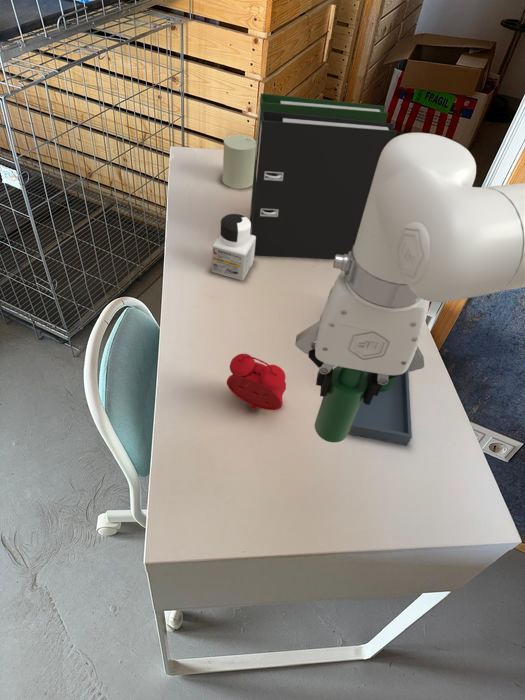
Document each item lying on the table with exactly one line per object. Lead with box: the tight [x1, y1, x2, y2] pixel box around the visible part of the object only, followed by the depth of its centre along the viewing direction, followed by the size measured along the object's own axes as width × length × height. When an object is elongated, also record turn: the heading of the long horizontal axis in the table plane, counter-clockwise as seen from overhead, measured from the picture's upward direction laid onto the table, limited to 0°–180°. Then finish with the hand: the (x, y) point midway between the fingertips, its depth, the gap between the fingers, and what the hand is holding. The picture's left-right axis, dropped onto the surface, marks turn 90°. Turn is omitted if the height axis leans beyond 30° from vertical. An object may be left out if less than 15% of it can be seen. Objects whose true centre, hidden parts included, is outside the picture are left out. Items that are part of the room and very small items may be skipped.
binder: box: [249, 93, 398, 260], centre depth 111 cm, size 27×15×32 cm, turn 91°
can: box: [221, 134, 257, 190], centre depth 136 cm, size 9×9×12 cm
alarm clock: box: [226, 353, 287, 411], centre depth 81 cm, size 10×6×15 cm, turn 67°
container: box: [211, 213, 256, 281], centre depth 108 cm, size 8×8×13 cm
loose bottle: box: [314, 366, 368, 443], centre depth 60 cm, size 5×5×14 cm
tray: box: [348, 371, 413, 446], centre depth 95 cm, size 34×10×3 cm, turn 170°
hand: (345, 390), depth 59 cm, fingers closed on loose bottle, 4 cm apart
